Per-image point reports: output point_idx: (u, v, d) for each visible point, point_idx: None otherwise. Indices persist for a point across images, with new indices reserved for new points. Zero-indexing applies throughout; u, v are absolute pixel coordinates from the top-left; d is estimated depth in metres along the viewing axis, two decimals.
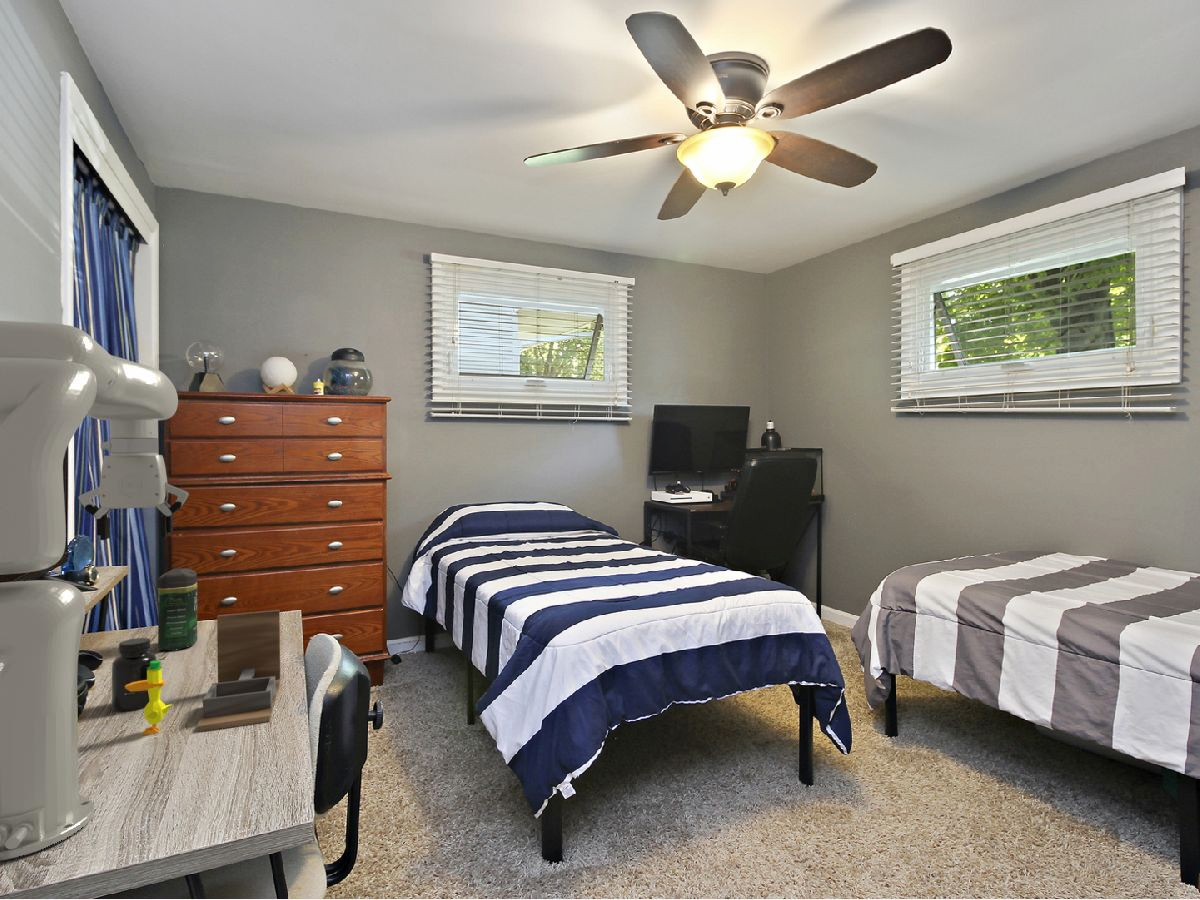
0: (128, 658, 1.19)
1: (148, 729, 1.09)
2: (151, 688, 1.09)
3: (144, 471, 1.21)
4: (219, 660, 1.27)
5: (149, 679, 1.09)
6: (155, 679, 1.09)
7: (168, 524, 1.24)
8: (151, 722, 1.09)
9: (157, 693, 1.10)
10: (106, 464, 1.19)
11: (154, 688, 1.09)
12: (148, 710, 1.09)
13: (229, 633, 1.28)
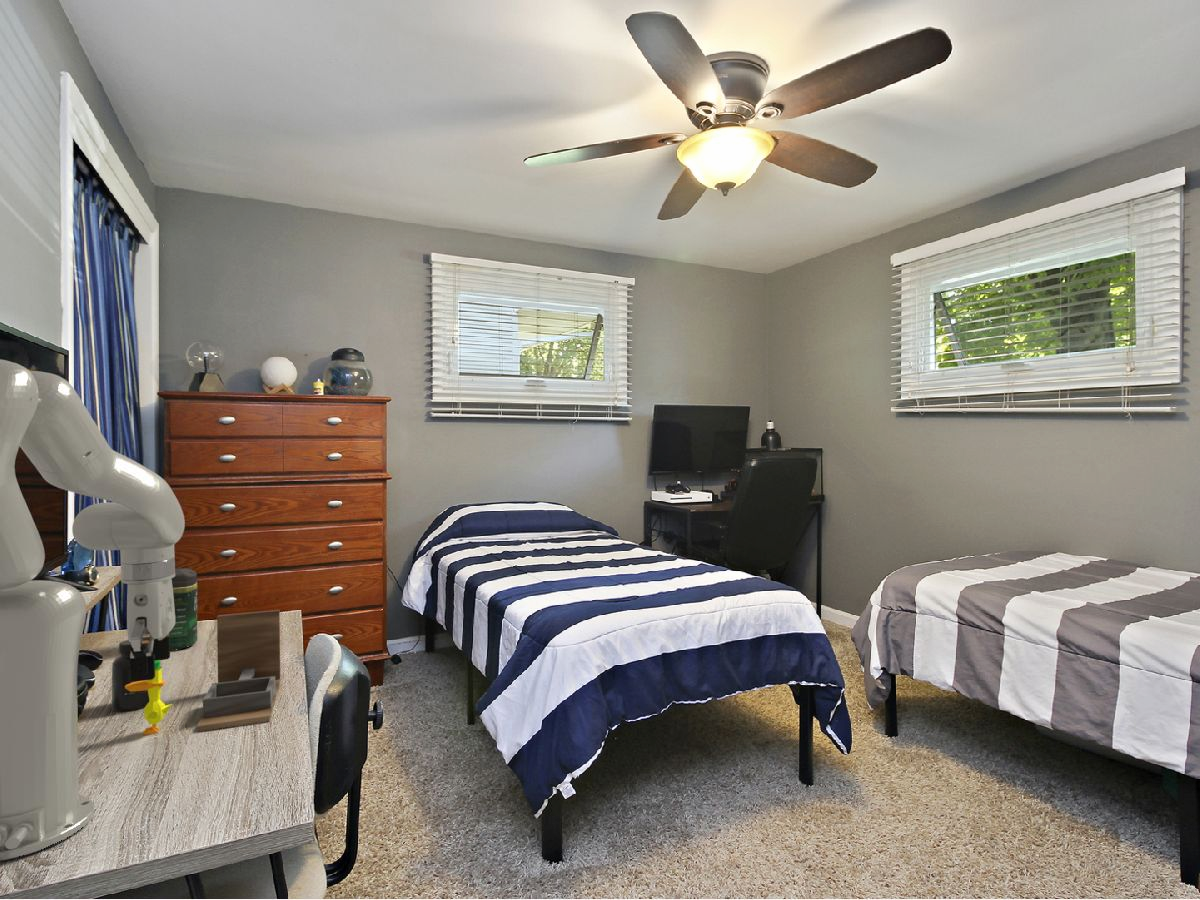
0: (128, 658, 1.19)
1: (148, 729, 1.09)
2: (151, 688, 1.09)
3: (171, 591, 1.13)
4: (219, 660, 1.27)
5: None
6: (155, 679, 1.09)
7: None
8: (151, 722, 1.09)
9: (157, 693, 1.10)
10: (160, 591, 1.07)
11: (154, 688, 1.09)
12: (148, 710, 1.09)
13: (229, 633, 1.28)
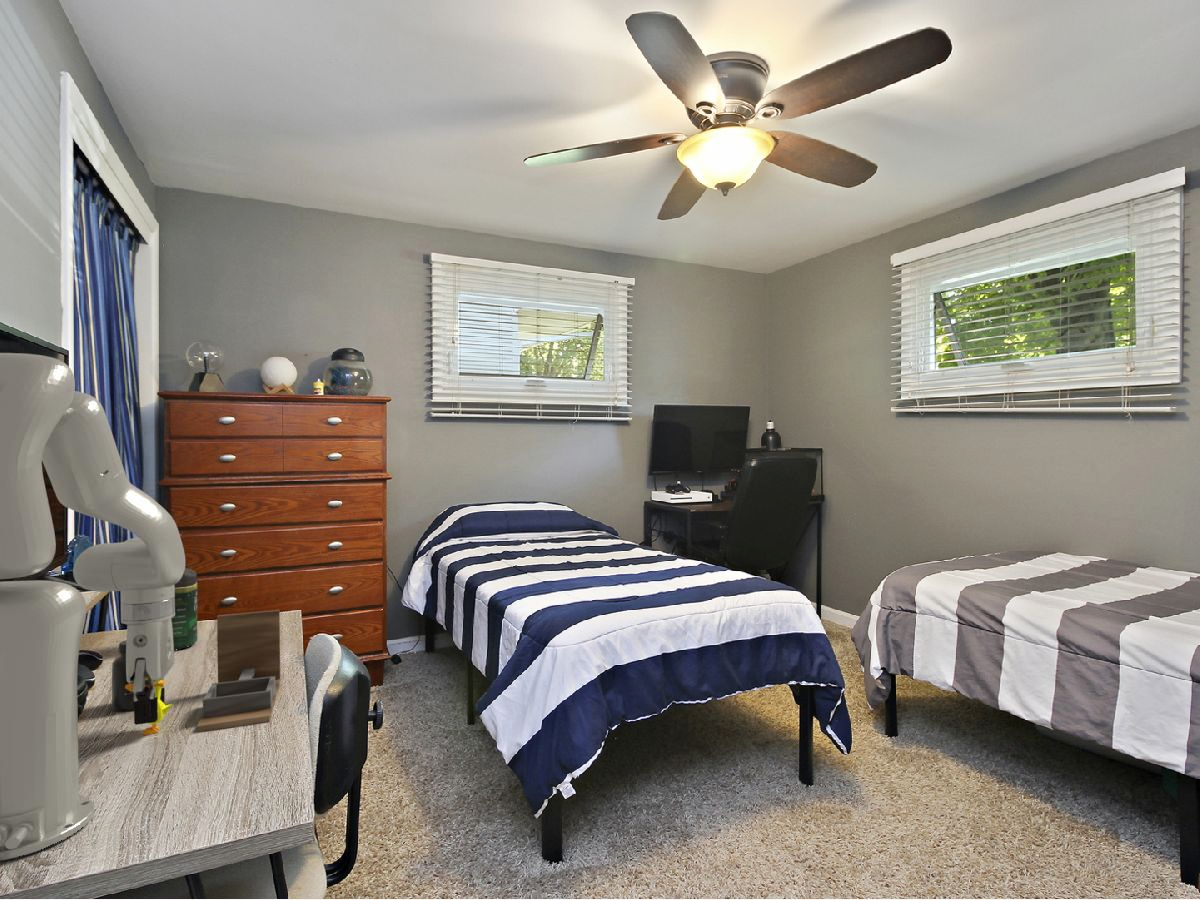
0: None
1: (148, 729, 1.09)
2: None
3: (171, 630, 1.13)
4: (219, 660, 1.27)
5: (149, 679, 1.09)
6: None
7: None
8: None
9: (157, 693, 1.10)
10: (159, 631, 1.07)
11: None
12: None
13: (229, 633, 1.28)
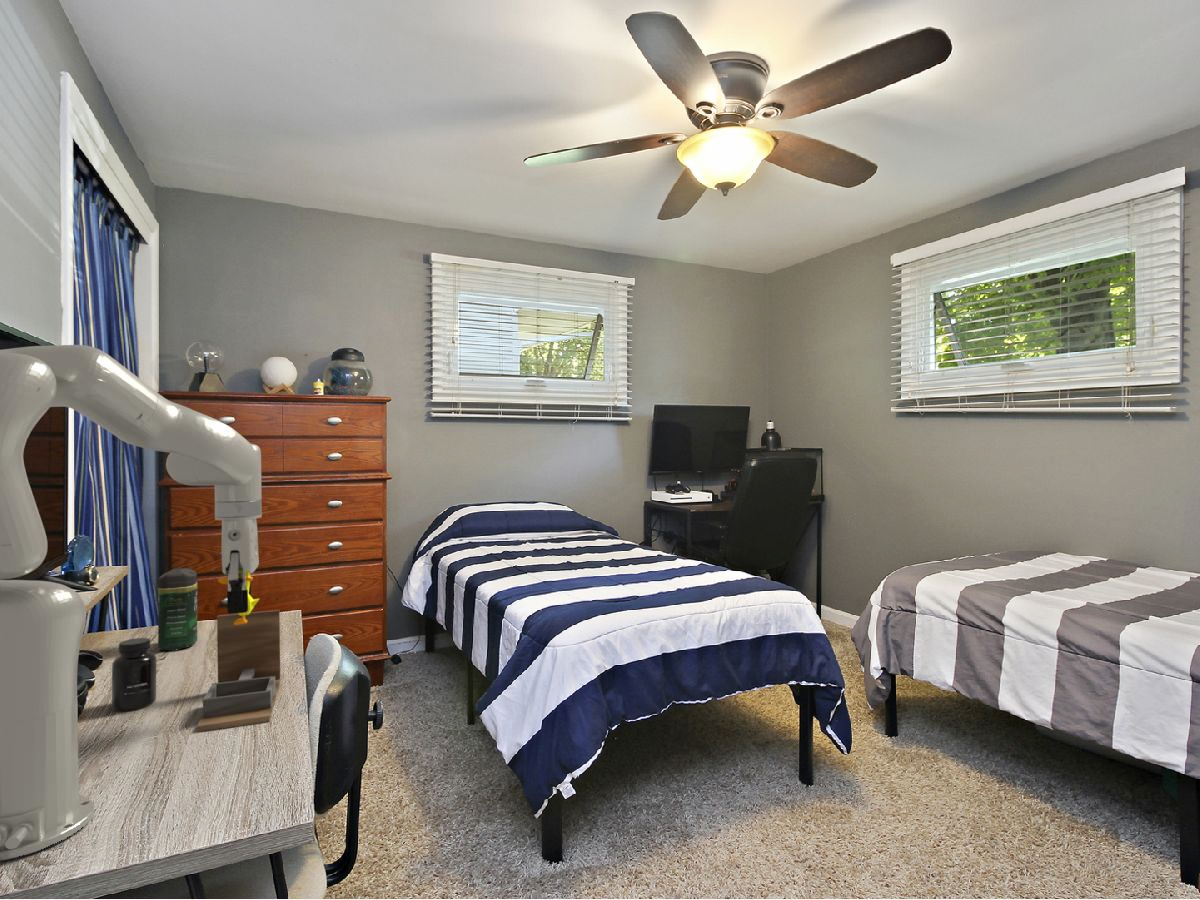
0: (128, 658, 1.19)
1: (238, 620, 1.19)
2: None
3: None
4: (219, 660, 1.27)
5: None
6: None
7: None
8: (241, 613, 1.18)
9: (246, 587, 1.19)
10: (251, 528, 1.16)
11: None
12: None
13: (229, 633, 1.28)
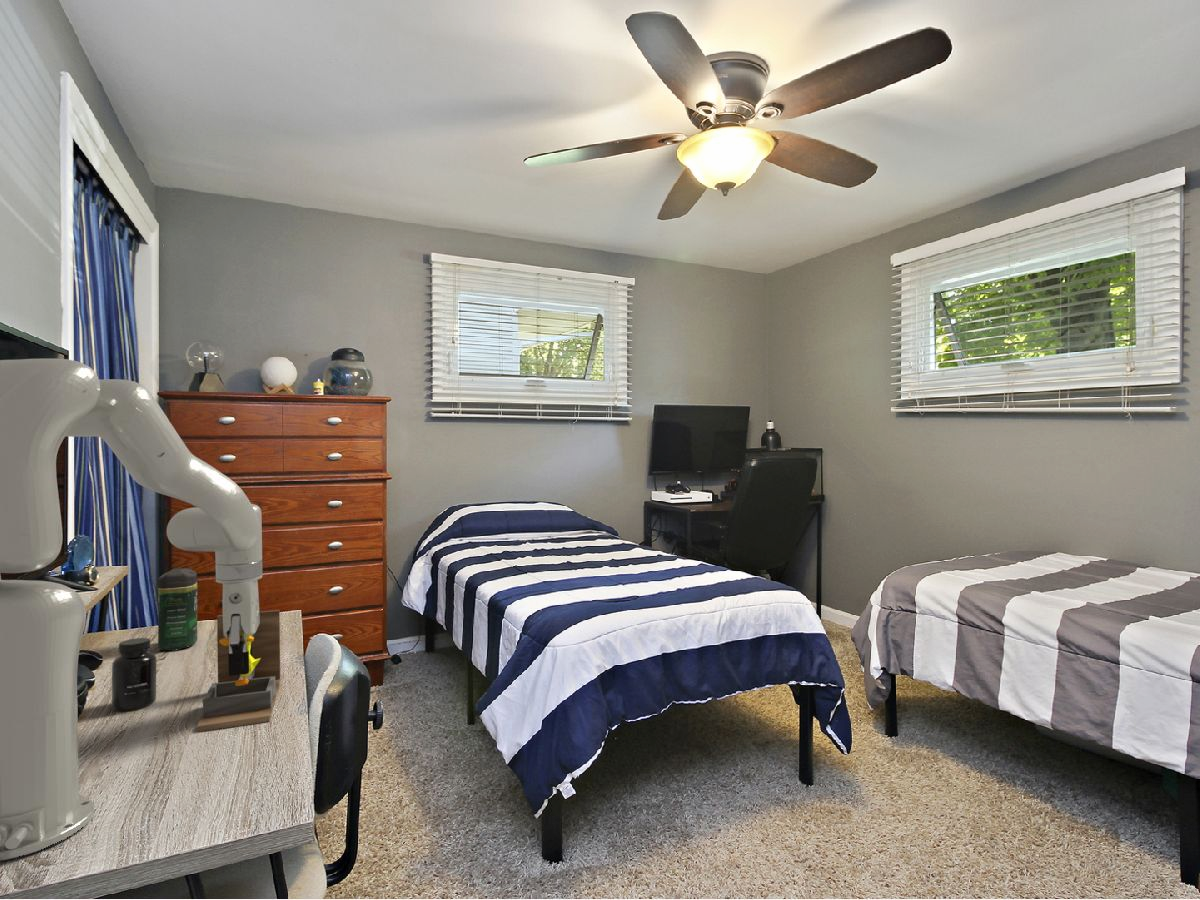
0: (128, 658, 1.19)
1: (239, 681, 1.19)
2: None
3: None
4: (219, 660, 1.27)
5: (241, 634, 1.18)
6: None
7: None
8: (243, 674, 1.18)
9: (247, 648, 1.19)
10: (252, 590, 1.16)
11: None
12: None
13: None
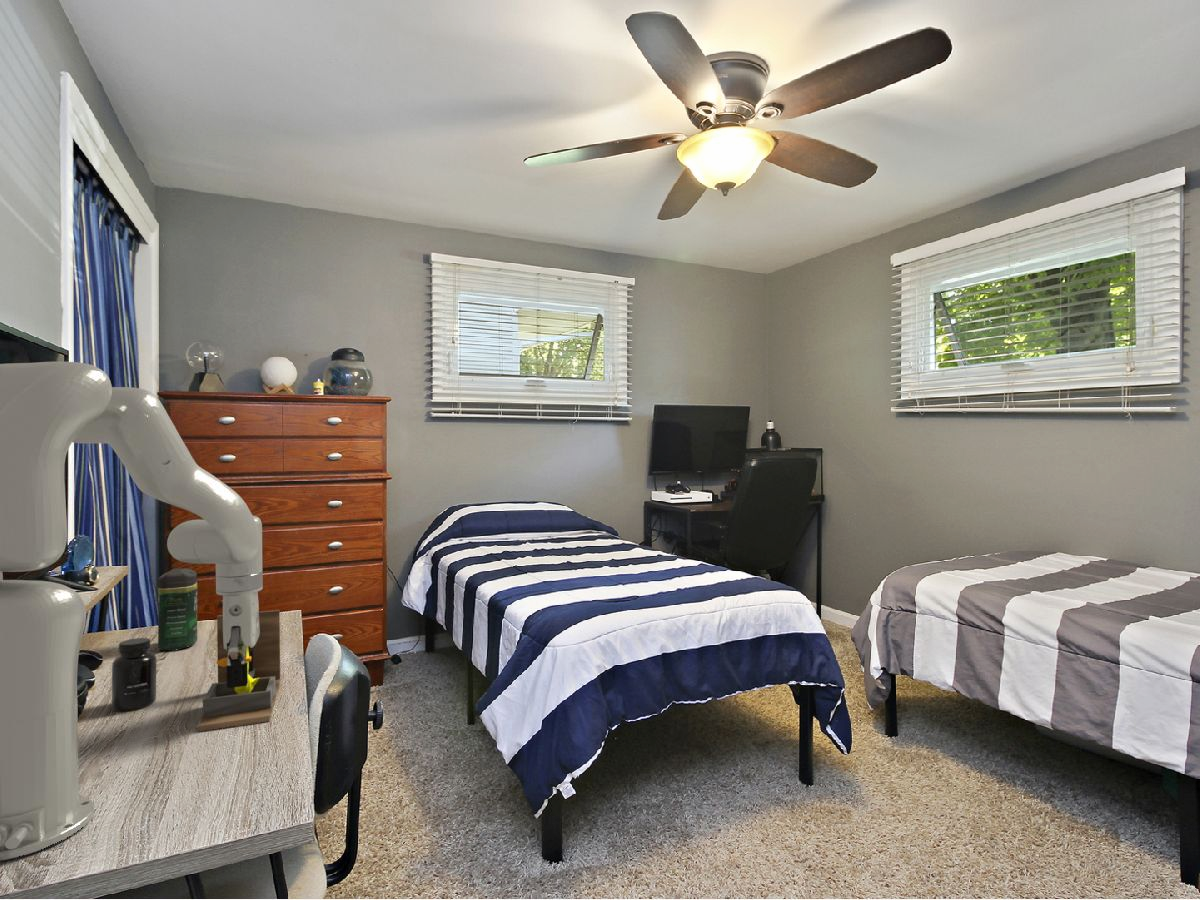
0: (128, 658, 1.19)
1: None
2: None
3: None
4: None
5: None
6: None
7: None
8: None
9: None
10: (252, 602, 1.16)
11: None
12: None
13: None
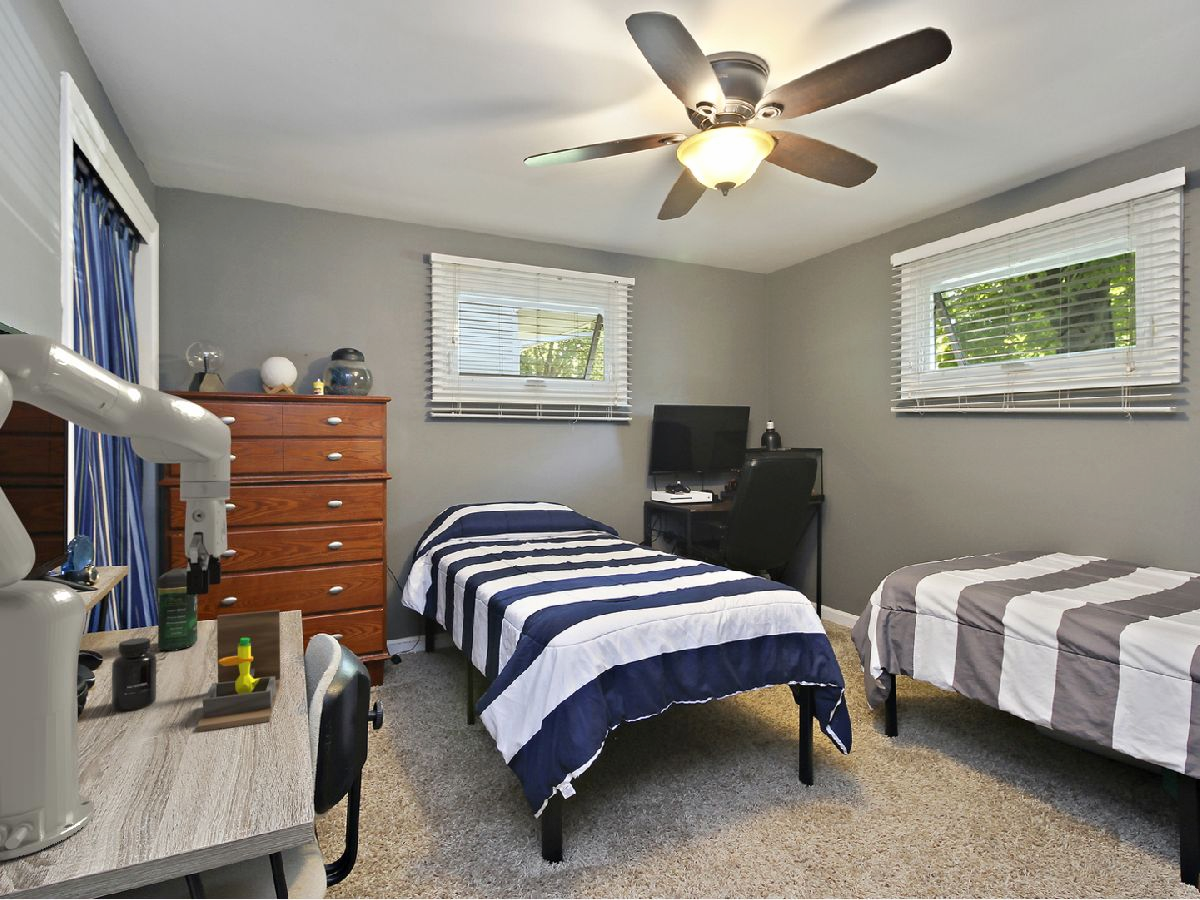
0: (128, 658, 1.19)
1: None
2: (242, 663, 1.18)
3: (225, 515, 1.17)
4: None
5: (240, 654, 1.18)
6: (245, 654, 1.18)
7: None
8: None
9: (247, 668, 1.19)
10: (216, 509, 1.11)
11: (244, 663, 1.18)
12: (239, 683, 1.18)
13: (229, 633, 1.28)
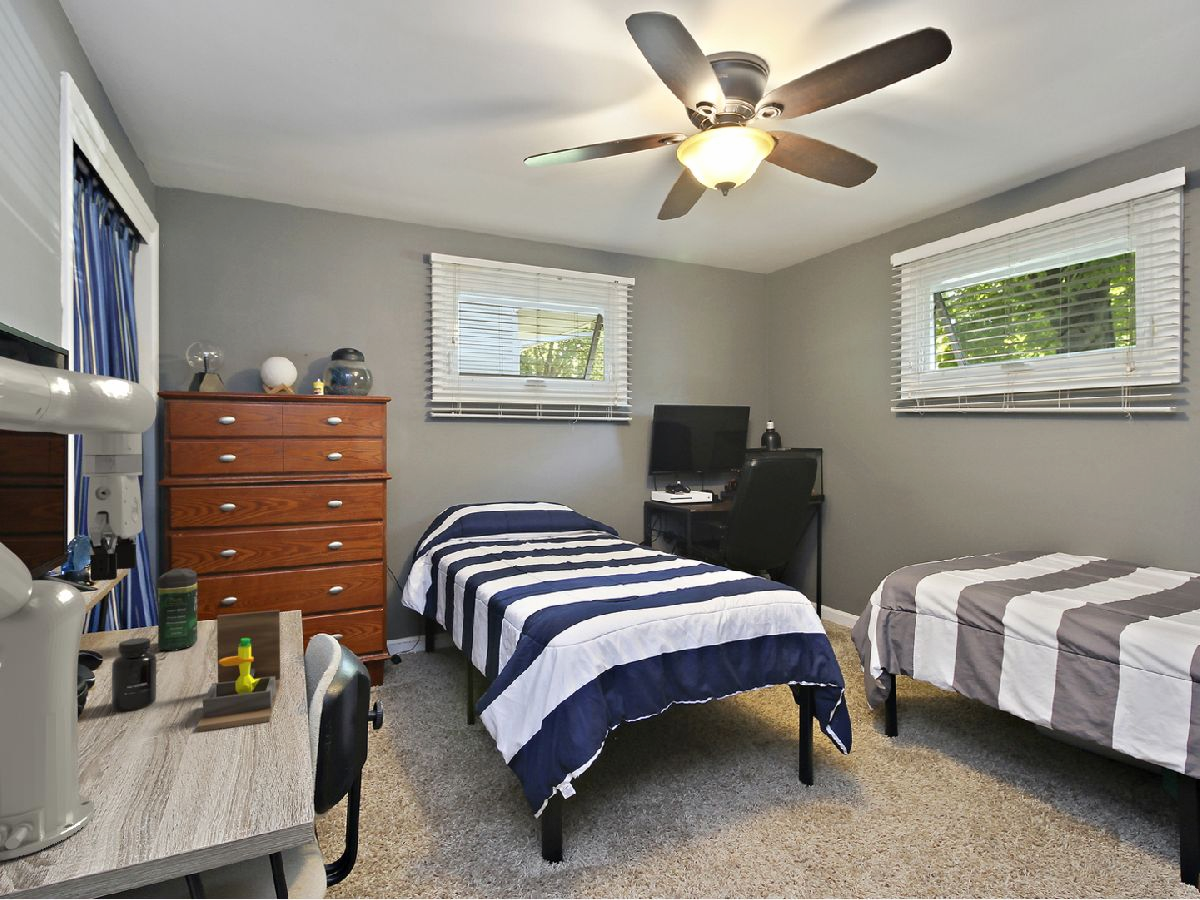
0: (128, 658, 1.19)
1: None
2: (242, 663, 1.18)
3: (138, 492, 1.06)
4: None
5: (240, 655, 1.18)
6: (246, 655, 1.18)
7: None
8: None
9: (247, 668, 1.19)
10: (124, 486, 1.00)
11: (245, 663, 1.18)
12: (240, 683, 1.18)
13: (229, 633, 1.28)
